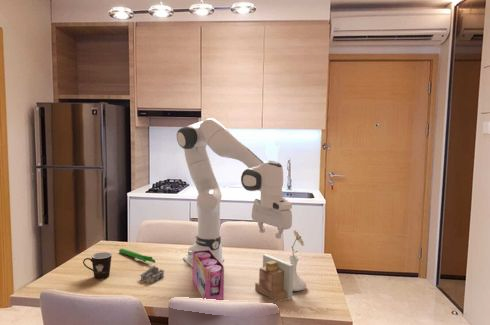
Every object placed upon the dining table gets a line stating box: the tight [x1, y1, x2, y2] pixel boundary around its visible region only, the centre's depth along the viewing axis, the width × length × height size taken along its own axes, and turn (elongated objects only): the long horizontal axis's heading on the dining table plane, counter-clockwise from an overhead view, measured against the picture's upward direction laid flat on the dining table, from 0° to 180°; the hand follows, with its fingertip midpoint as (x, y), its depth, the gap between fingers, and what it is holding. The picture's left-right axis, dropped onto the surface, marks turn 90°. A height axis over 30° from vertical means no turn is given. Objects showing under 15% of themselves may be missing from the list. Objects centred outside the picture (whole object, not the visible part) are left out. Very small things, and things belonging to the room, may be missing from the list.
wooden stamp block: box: [258, 261, 284, 293], centre depth 153 cm, size 8×6×11 cm
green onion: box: [118, 248, 156, 264], centre depth 192 cm, size 5×3×30 cm
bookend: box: [254, 253, 293, 303], centre depth 156 cm, size 16×7×14 cm, turn 40°
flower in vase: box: [287, 229, 307, 292], centre depth 162 cm, size 13×11×25 cm
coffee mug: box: [82, 251, 112, 280], centre depth 169 cm, size 12×9×10 cm
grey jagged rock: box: [139, 265, 165, 284], centre depth 169 cm, size 11×8×4 cm
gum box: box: [192, 250, 225, 301], centre depth 157 cm, size 24×8×14 cm, turn 21°
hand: (270, 235), depth 151 cm, fingers open, 8 cm apart
